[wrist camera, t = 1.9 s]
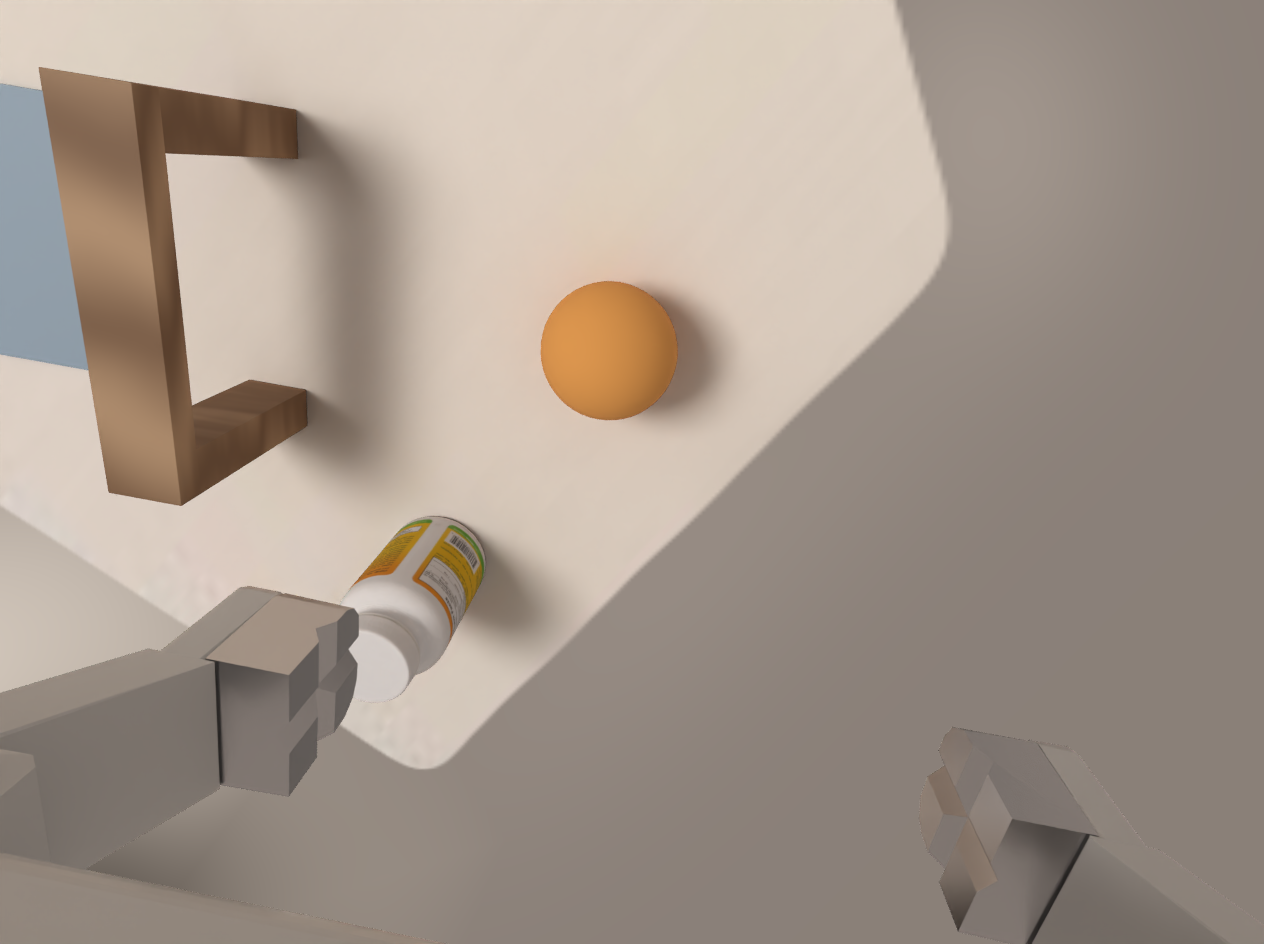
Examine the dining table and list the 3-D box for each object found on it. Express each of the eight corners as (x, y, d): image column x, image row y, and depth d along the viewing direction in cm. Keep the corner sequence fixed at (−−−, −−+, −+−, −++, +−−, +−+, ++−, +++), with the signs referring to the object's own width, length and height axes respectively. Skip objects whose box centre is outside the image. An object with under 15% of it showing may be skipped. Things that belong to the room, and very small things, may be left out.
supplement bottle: (389, 583, 40) (301, 699, 31) (399, 502, 38) (307, 602, 29) (480, 607, 40) (417, 729, 31) (495, 527, 38) (432, 635, 29)
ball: (562, 262, 32) (534, 280, 27) (690, 284, 32) (688, 307, 27) (549, 386, 35) (520, 425, 29) (667, 407, 34) (661, 451, 29)
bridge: (230, 98, 31) (38, 67, 22) (296, 109, 31) (131, 82, 22) (251, 415, 37) (108, 492, 28) (307, 425, 37) (181, 506, 28)
